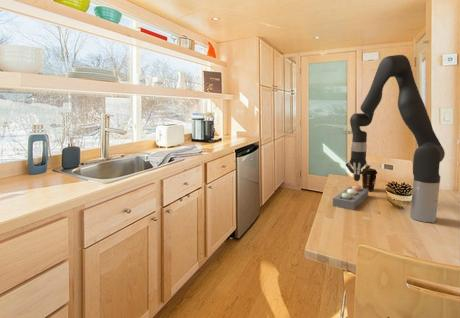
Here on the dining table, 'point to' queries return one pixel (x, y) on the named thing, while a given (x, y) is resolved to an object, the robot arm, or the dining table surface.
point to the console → (354, 199)
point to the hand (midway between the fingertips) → (356, 180)
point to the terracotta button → (356, 188)
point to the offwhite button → (351, 191)
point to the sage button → (346, 196)
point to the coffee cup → (369, 179)
